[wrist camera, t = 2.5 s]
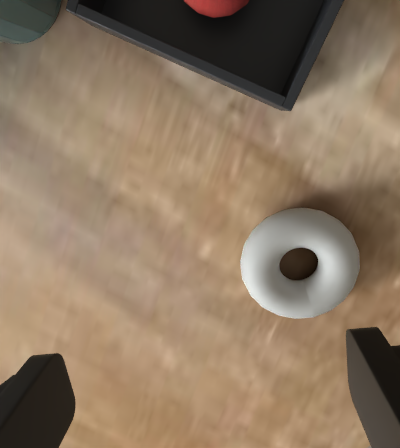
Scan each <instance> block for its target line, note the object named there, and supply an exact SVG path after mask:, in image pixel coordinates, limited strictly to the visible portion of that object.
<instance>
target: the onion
mask: <svg viewBox="0 0 400 448" xmlns="http://www.w3.org/2000/svg"><path fill="white" fill-rule="evenodd" d="M183 1H184V2H185V3H186V4H187V5H189V6H190V7H191V8H192V9H194V10H195V11H196V12H197V13H199V14H202V15H206V16H209V17H213V18H216V17H223V16H230V15H232V14H234V13H235V12H237V11H238V10H240V9H241V8H242V7H244V6H245V5H247V3H248V2H249V0H183Z"/></svg>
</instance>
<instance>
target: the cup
mask: <svg viewBox="0 0 400 448" xmlns="http://www.w3.org/2000/svg"><path fill="white" fill-rule="evenodd" d="M60 5H61V0H0V42H3V43H11V44H24V43H28V42H31V41H34V40H36V39H38V38H39V37H41V36H42V35H44V34H45V33H46V32H47V31H48V30H49V29H50V28H51V26H52V25H53V23H54V22H55V20H56V18H57V15H58V13H59V10H60Z"/></svg>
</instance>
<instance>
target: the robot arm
mask: <svg viewBox="0 0 400 448" xmlns="http://www.w3.org/2000/svg"><path fill="white" fill-rule="evenodd" d="M346 348H347V368H348V383H349V389H350V393H351V397H352V401H353V403H354V406H355V408H356V411H357V413H358V416H359V418H360V420H361V423H362V425H363V428H364V430H365V433H366V435H367V437H368V440H369V442H370V445H371V447H372V448H400V345H399V346H390V344H389V343H388V341H387V340H386V338H385V337H384V335H383V334H382V332H381V331H380V330H379V328H378V327H370V328H359V329H348V330H347V331H346ZM74 413H75V396H74V393H73V389H72V386H71V383H70V379H69V376H68V373H67V369H66V366H65V362H64V359H63V357H62V356H61V355H60V354H58V353H56V354H44V355H33V356H31V357H30V358H29V359H28V360H27V361H26V362H25V364H24V365H23V366H22V367H21V369H20V370H19V371H18V372H17V373H16V375H13V376H12V377H10V378H9V379H8V380H6V381H5V382H4V383H2V384H1V385H0V448H59V446H60V444H61V442H62V440H63V438H64V436H65V434H66V432H67V430H68V428H69V426H70V424H71V422H72V420H73V417H74Z"/></svg>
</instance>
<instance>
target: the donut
mask: <svg viewBox="0 0 400 448" xmlns="http://www.w3.org/2000/svg"><path fill="white" fill-rule="evenodd" d="M301 247H302V248H308V249H310V250H312V251H313V252H314V253H315V254H316V256H317V258H318V266H317V269H316V270H315V272H314V273H313V274H312V275H311V276H310V277H308V278H306V279H303V280H291V279H288V278H287V277H285V276H284V275H283V274H282V273H281V271H280V267H279V264H280V260H281V259H282V257H283V255H284V254H286V253H287V252H288V251H290V250H292V249H294V248H301ZM240 265H241V272H242V279H243V281H244V283H245V285H246V287H247V289H248V291H249V293H250V295H251V296H252V297H253V298H254V299H255V300H256V301H257V302H258V303H259V304H260V305H261V306H262V307H263V308H265V309H267V310H269V311H271V312H273V313H275V314H277V315H279V316H284V317H290V318H295V319H299V318H310V317H315V316H318V315H321V314H323V313H326V312H328V311H330V310H332V309H333V308H334V307H336V306H337V305H338V304H340V303H341V302H342V301H344V299H345V298H346V297H347V295H348V294H349V293H350V291H351V290H352V289H353V287H354V285H355V282H356V279H357V276H358V273H359V270H360V261H359V250H358V248H357V245H356V243H355V241H354V238H353V236H352V233H351V232H350V231H349V230H348V229H347V228H346V227H345V226H344V225H343V224H342V222H341V221H340V220H338V219H336V218H334V217H333V216H331V215H329V214H327V213H325V212H323V211H320V210H315V209H309V208H303V207H301V208H294V209H286V210H282V211H280V212H278V213H275V214H273V215H271V216H269V217H267V218H266V219H264V220H263V221H262V222H261V223H260V224H259V225H258V226H256V227H255V228H254V229H253V231H252V232H251V234H250V236H249V237H248V239H247V241H246V242H245V244H244V247H243V252H242V256H241V261H240Z"/></svg>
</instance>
